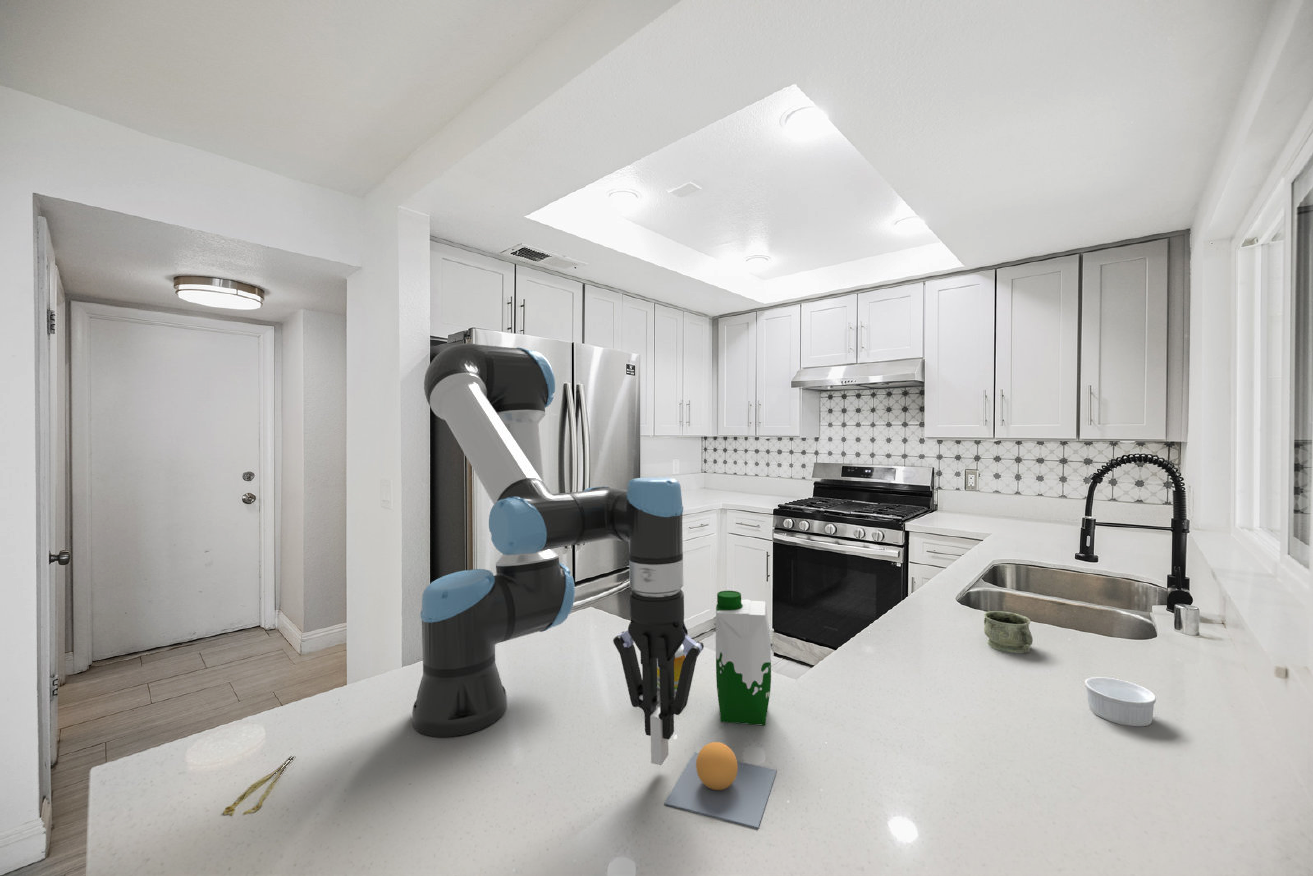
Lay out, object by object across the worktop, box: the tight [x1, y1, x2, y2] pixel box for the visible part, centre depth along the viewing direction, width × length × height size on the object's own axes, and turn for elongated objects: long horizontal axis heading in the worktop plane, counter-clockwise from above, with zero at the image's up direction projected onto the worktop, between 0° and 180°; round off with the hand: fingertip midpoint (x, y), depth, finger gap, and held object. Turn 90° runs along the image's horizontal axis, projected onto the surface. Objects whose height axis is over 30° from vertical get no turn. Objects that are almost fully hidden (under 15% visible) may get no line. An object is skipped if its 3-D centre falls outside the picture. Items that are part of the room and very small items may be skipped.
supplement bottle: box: [657, 644, 686, 693], centre depth 103 cm, size 5×5×10 cm
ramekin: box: [1084, 676, 1157, 728], centre depth 90 cm, size 9×9×4 cm
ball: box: [696, 741, 738, 790], centre depth 73 cm, size 6×6×6 cm
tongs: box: [223, 755, 294, 817], centre depth 76 cm, size 4×13×2 cm, turn 9°
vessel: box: [983, 610, 1033, 654], centre depth 119 cm, size 12×9×6 cm
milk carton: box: [715, 590, 772, 726], centre depth 92 cm, size 9×9×20 cm
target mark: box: [664, 751, 778, 830], centre depth 73 cm, size 12×12×1 cm
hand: (660, 758), depth 77 cm, fingers closed
